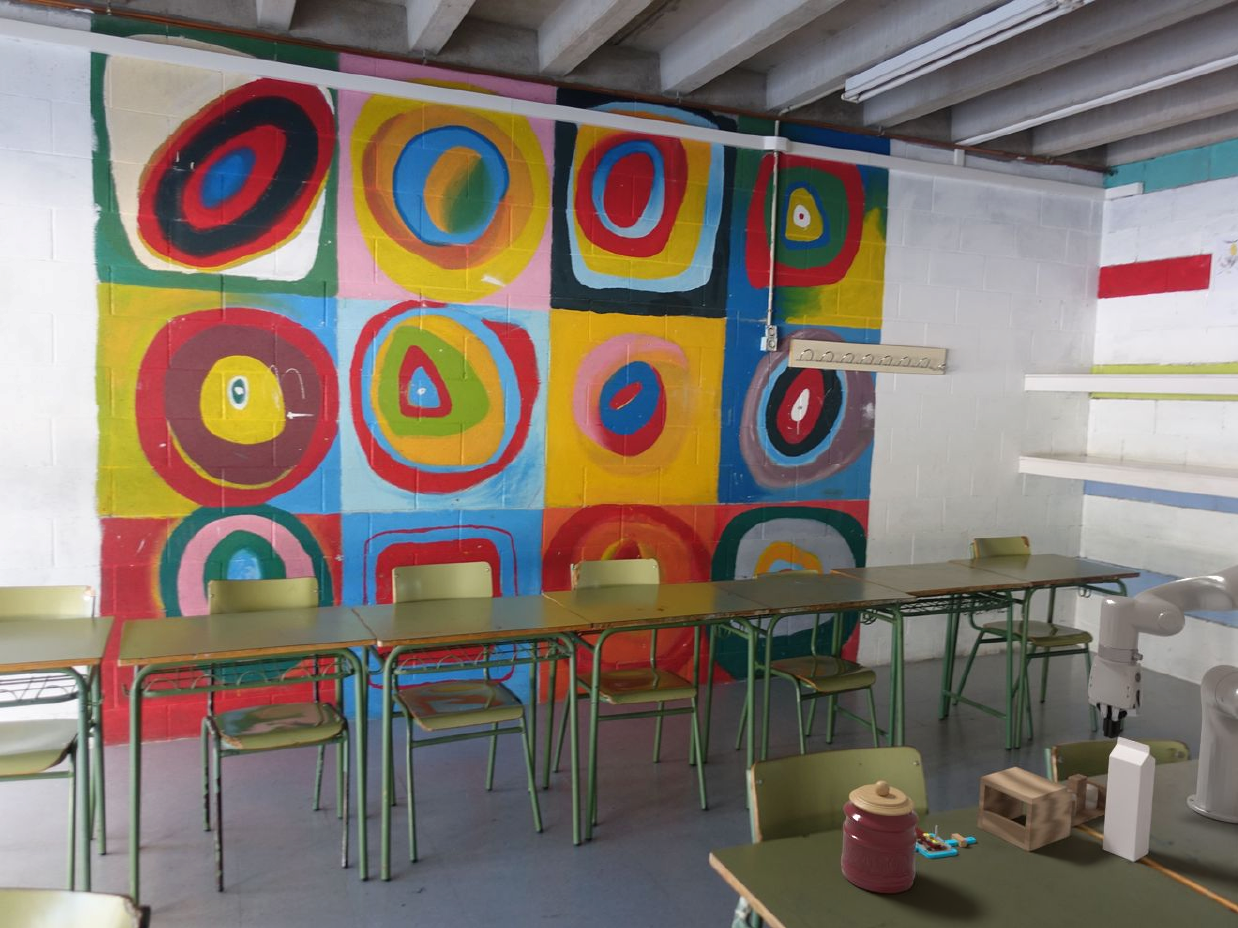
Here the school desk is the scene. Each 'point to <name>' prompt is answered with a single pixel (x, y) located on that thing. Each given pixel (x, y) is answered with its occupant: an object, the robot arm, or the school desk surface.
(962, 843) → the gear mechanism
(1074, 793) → the caddy
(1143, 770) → the milk
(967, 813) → the school desk surface
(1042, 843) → the shelf
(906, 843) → the canister
